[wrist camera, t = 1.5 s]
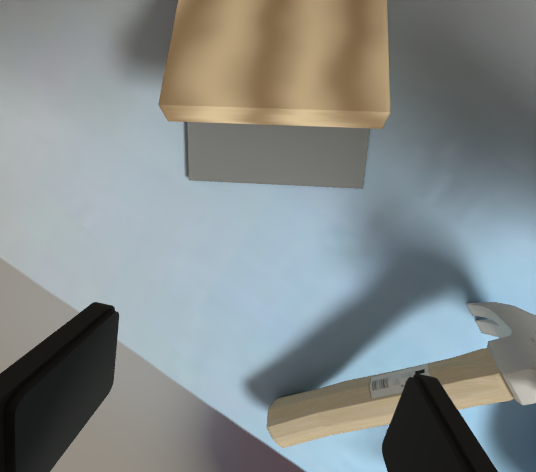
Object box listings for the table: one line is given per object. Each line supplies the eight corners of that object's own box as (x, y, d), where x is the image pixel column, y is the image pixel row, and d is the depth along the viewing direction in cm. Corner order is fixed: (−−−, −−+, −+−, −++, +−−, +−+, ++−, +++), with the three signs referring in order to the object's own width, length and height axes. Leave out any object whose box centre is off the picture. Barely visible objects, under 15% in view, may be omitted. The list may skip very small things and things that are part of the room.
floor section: (406, -198, 25) (419, -237, 22) (361, 187, 32) (367, 190, 30) (181, -191, 26) (169, -228, 23) (190, 179, 34) (182, 182, 31)
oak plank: (379, 8, 27) (386, -16, 26) (381, 128, 24) (390, 112, 22) (188, 5, 29) (181, -17, 27) (168, 121, 26) (158, 104, 24)
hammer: (271, 506, 32) (663, 471, 19) (246, 474, 31) (638, 415, 19) (299, 384, 46) (537, 318, 33) (282, 360, 45) (519, 283, 33)
